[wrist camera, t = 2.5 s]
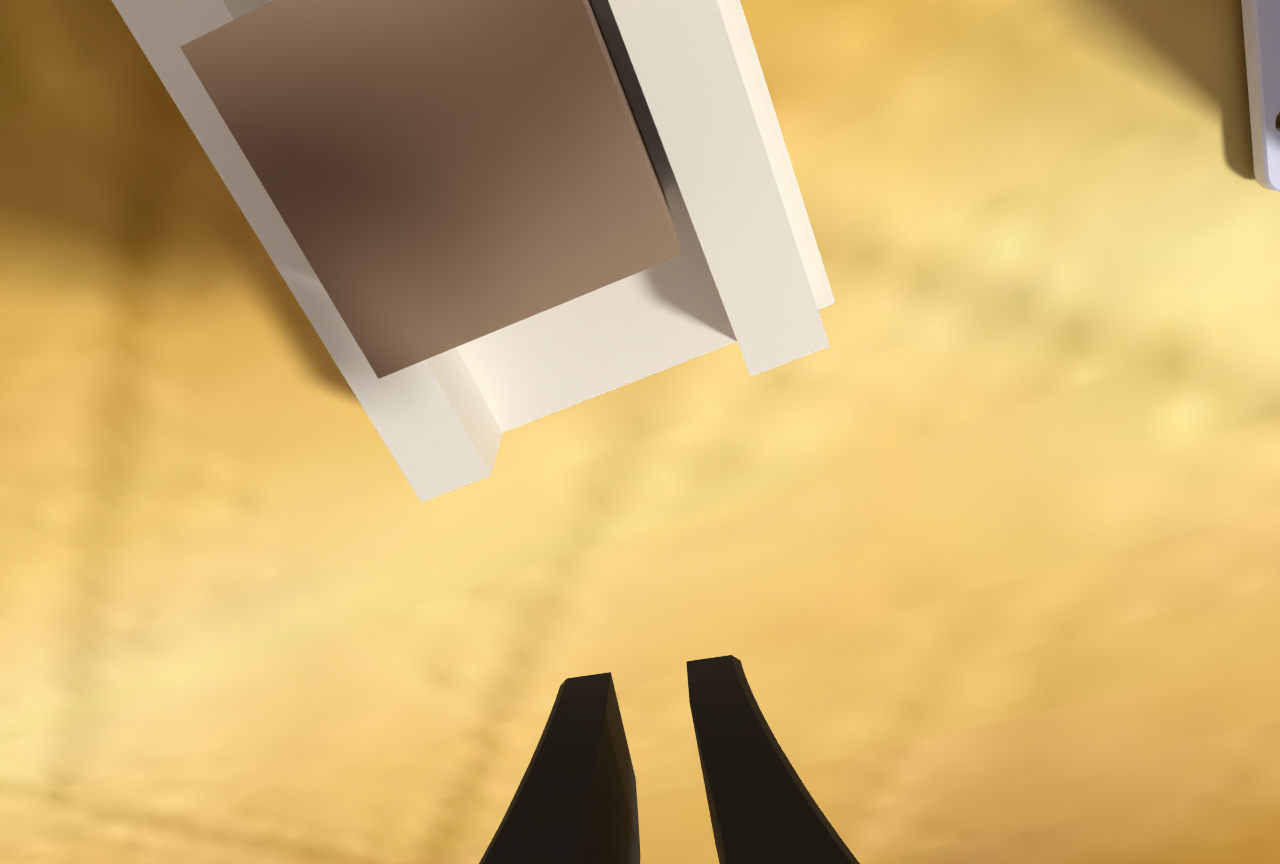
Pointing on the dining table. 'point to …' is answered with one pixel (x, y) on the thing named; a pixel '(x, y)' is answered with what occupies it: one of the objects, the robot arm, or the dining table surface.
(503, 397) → the chute
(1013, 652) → the dining table surface
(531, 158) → the walnut block
